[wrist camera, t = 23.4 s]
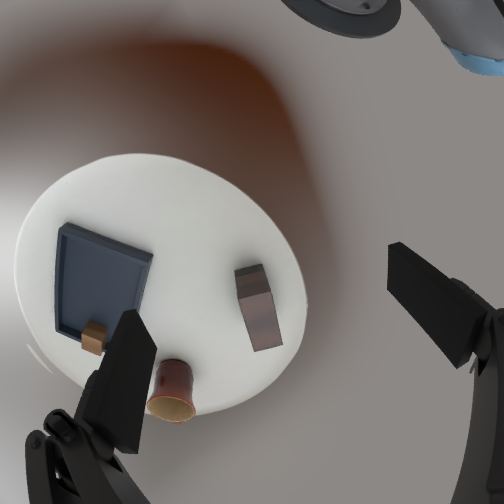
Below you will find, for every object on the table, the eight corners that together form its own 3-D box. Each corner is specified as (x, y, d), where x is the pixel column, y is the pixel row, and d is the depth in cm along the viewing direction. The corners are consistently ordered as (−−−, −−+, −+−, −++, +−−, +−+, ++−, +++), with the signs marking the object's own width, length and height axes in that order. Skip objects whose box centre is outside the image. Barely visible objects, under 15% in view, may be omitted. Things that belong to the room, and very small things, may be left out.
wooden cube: (89, 320, 42) (81, 333, 38) (108, 327, 43) (101, 341, 39) (88, 334, 43) (81, 348, 40) (106, 342, 44) (100, 356, 41)
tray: (67, 222, 36) (58, 228, 33) (153, 254, 40) (149, 263, 37) (61, 322, 43) (55, 331, 40) (130, 349, 47) (127, 360, 44)
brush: (234, 270, 42) (237, 299, 35) (262, 263, 42) (271, 290, 35) (248, 320, 46) (254, 352, 39) (273, 314, 46) (282, 345, 39)
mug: (150, 353, 47) (141, 394, 38) (195, 355, 48) (193, 397, 39) (160, 390, 52) (155, 427, 43) (199, 392, 53) (199, 430, 44)
